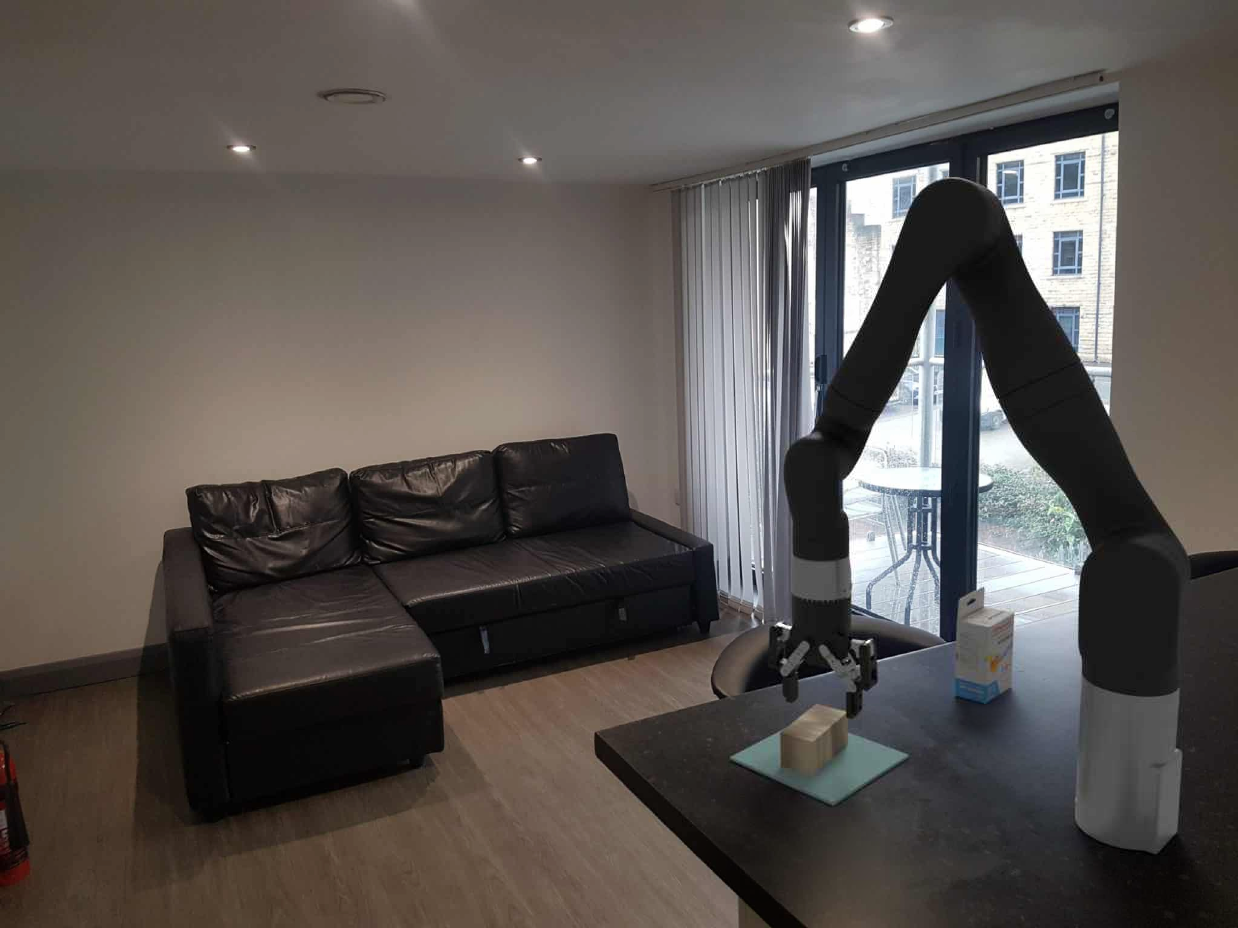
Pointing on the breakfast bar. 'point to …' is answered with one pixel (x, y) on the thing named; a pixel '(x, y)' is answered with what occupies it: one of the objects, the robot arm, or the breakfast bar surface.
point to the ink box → (983, 649)
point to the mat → (824, 767)
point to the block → (813, 739)
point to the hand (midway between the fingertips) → (821, 708)
